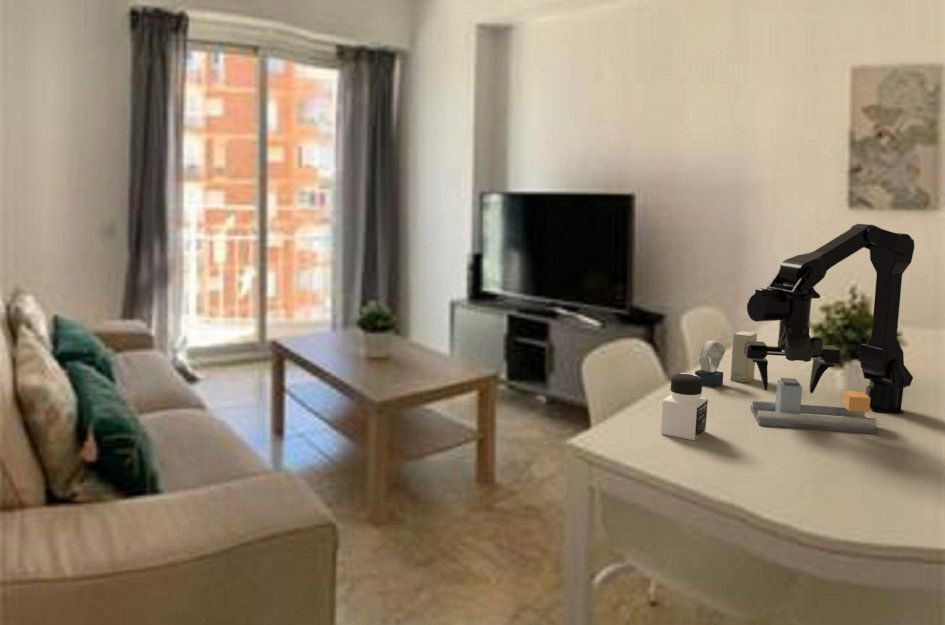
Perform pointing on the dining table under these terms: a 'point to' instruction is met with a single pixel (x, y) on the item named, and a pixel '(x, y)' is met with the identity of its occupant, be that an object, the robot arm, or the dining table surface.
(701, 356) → the watch
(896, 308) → the robot arm
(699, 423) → the medicine bottle
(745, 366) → the skincare box
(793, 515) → the dining table surface
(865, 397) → the plain orange cuboid
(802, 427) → the rail plate
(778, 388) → the block
